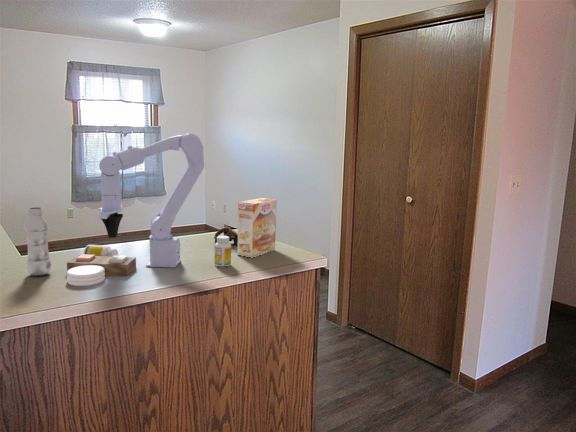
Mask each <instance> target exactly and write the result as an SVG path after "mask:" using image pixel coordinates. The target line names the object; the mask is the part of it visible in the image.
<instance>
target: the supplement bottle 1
mask: <svg viewBox="0 0 576 432" xmlns="http://www.w3.org/2000/svg"><path fill="white" fill-rule="evenodd" d="M83 254H87V255H95V256H107V257H113V256H114V255H115V256H119V251H118V249H116V248H112V247H111V246H108V245H101V244H87V245H86V246H85V247H84V250H83Z"/></svg>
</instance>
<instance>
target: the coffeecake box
mask: <svg viewBox="0 0 576 432" xmlns="http://www.w3.org/2000/svg"><path fill="white" fill-rule="evenodd" d="M277 201H278V200H277V199H275V198H269V197H268V198H267V197H259V198H258V197H257V198H253V199H248V200H243V201H238V202H237V203H238V209H237V210H238V211H237V215H238V217H237V234H238V244H237V256H238V255H241V256H240V257H243V256H246V257H245V258H247V257H252V258H253V257H255V258H257V257H256V256H258V257H260V256H259V255H261V254H263V255H265V254H264V253H266V254H268V253H267V252H269V253H271V252H273V251H272V250H274V251H275V250H276V235H277V234H276V230H277V229H276V228H277V203H278V202H277ZM270 251H271V252H270ZM261 256H262V255H261ZM252 258H251V259H252ZM253 259H254V258H253Z"/></svg>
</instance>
